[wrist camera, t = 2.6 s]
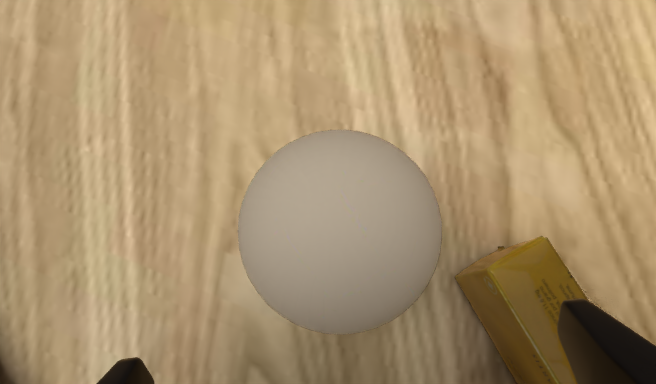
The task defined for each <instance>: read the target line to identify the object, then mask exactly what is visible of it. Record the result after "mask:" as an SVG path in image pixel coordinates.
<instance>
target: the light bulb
mask: <svg viewBox="0 0 656 384" xmlns="http://www.w3.org/2000/svg"><path fill="white" fill-rule="evenodd" d="M238 241H239V250H240V254H241V258H242V262H243V265H244V268H245V270H246V273H247V275H248V277H249V279H250V281H251V283H252V284H253V286H254V287H255V289H256V291H257V292H258V294H259V295H260V296H261V297H262V298H263V299H264V301H265V302H266V303H267V304H268V305H269V306H270V307H271V308H272V309H274V310H275V311H276V312H277V313H278V314H280V315H281V316H282V317H284V318H286V319H287V320H289V321H291V322H292V323H294V324H296V325H299V326H301V327H304V328H306V329H309V330H312V331H317V332H321V333H326V334H343V335H345V334H353V333H361V332H364V331H368V330H371V329H375V328H378V327H380V326H382V325H384V324H386V323H388V322H390V321H392V320H393V319H395V318H396V317H398V316H399V315H400V314H402V313H403V312H405V311H406V310H407V309H408V308H409V307H410V306H411V305H412V304H413V303H414V302H415V301H416V300H417V299H418V298H419V296H420V295H421V294H422V292H423V291H424V289H425V288H426V287H427V285H428V283H429V281H430V279H431V277H432V275H433V273H434V271H435V268H436V265H437V261H438V258H439V255H440V249H441V241H442V221H441V216H440V211H439V206H438V203H437V200H436V197H435V194H434V191H433V189H432V187H431V185H430V184H429V182H428V180H427V178H426V176H425V175H424V174H423V172H422V171H421V170H420V168H419V167H418V166H417V165H416V163H415V162H414V161H413V160H411V159H410V158H409V157H408V156H407V155H406V154H405V153H404V152H403V151H401V150H400V149H398V148H397V147H395V146H394V145H393V144H391V143H389V142H387V141H385V140H383V139H381V138H379V137H377V136H373V135H370V134H367V133H364V132H358V131H351V130H328V131H321V132H316V133H313V134H309V135H306V136H303V137H301V138H299V139H296V140H294V141H292V142H290V143H288V144H287V145H285V146H284V147H282V148H281V149H280V150H278V151H277V152H276V153H274V154H273V155H272V156H271V157H270V158H269V159H268V160H267V161H266V162H265V163H264V164H263V165H262V167H261V168H260V169H259V170H258V172H257V173H256V174H255V176H254V178H253V180H252V181H251V183H250V185H249V186H248V189H247V191H246V194H245V196H244V199H243V201H242V205H241V210H240V214H239V222H238Z"/></svg>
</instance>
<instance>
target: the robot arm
mask: <svg viewBox="0 0 656 384" xmlns="http://www.w3.org/2000/svg"><path fill="white" fill-rule="evenodd" d="M557 331H558V336H559V339H560V342H561V344H562V347H563V349H564V351H565V354H566V356H567V359H568V361H569V364H570V366H571V369H572V371H573V374H574V376H575V378H576V381H577V383H578V384H656V346H655V345H653V344H652V343H650V342H649V341H648V340H646V339H645V338H643V337H642V336H640V335H639V334H637V333H636V332H634V331H633V330H631V329H630V328H628V327H627V326H625V325H624V324H622V323H621V322H619V321H618V320H616V319H615V318H613V317H612V316H610V315H609V314H607V313H606V312H604V311H603V310H601V309H600V308H598V307H597V306H595V305H594V304H592V303H591V302H589V301H588V300H585V299H582V298H579V299H572V300H565V301H563V302H562V304H561V308H560V314H559V320H558V325H557ZM97 384H154V380H153V378H152V376H151V374H150V373H149V371H148V369H147V368H146V366H145V365H144V363H143V361H142V360H141V359H140V358H137V357H135V358H127V359H122V360H120V361H118V362H117V363H116V364H115V365H114V366H113V367H112V368H111V369H110V370H109V371H108V372H107V373H106V374H105V375H104V377H103V378H102V379H101V380H100V381H99V382H98V383H97Z"/></svg>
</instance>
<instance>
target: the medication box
mask: <svg viewBox="0 0 656 384" xmlns="http://www.w3.org/2000/svg"><path fill="white" fill-rule="evenodd" d="M455 279H456V281H457V282H458V284H459V285H460V287H461V289H462V291H463V292H464V294H465V296H466V298H467V299H468V301H469V303H470V304H471V306H472V308H473V309H474V311H475V313H476V315H477V316H478V318H479V320H480V321H481V323H482V325H483V327H484V328H485V330H486V332H487V333H488V335H489V337H490V338H491V340H492V342H493V344H494V345H495V347H496V349H497V350H498V352H499V354H500V356H501V357H502V359H503V361H504V362H505V364H506V366H507V367H508V369H509V371H510V372H511V374H512V376H513V377H514V379H515V381H516V382H517V384H578V383H577V381H576V378H575V376H574V374H573V371H572V369H571V366H570V364H569V361H568V359H567V356H566V354H565V351H564V349H563V347H562V344H561V342H560V339H559V336H558V331H557V325H558V320H559V314H560V308H561V304H562V302H563V301H565V300H572V299H579V298H582V299H585V300H588V299H587V297H586V296H585V294H584V293H583V291H582V290H581V288H580V287H579V285H578V284H577V282H576V281H575V279H574V278H573V276H572V275H571V273H570V272H569V270H568V269H567V267H566V266H565V264H564V263H563V261H562V260H561V258H560V257H559V255H558V253H557V252H556V250H555V249H554V247H553V246H552V244H551V243H550V241H549V240H548V238H546V237H543V236H540V237H537V238H535V239H533V240H529V241H526V242H522V243H519V244H516V245H513V246H510V247H508V248H504V246H501V247H498V250H497V251H495V252H493V253H491V254H489V255H487V256H485V257H483V258H481V259H479V260H478V261H476V262H475V263H473V264H472V265H470V266H469V267H467V268H466V269H464V270H463V271H462V272H460V273H459V274H457V275H456V276H455ZM588 301H589V300H588Z"/></svg>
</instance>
